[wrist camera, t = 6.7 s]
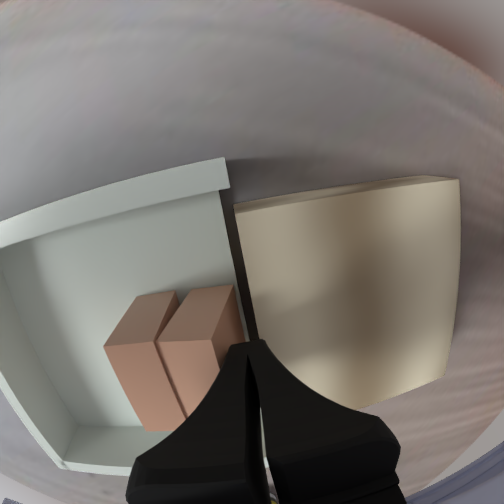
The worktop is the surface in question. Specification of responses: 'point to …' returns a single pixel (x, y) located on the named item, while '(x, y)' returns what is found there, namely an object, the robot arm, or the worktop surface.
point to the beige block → (356, 283)
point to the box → (101, 302)
